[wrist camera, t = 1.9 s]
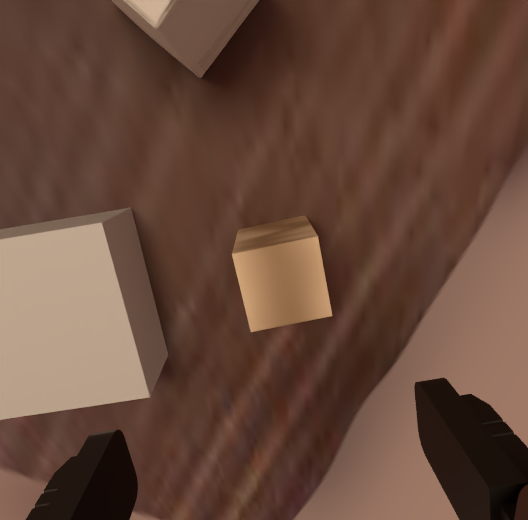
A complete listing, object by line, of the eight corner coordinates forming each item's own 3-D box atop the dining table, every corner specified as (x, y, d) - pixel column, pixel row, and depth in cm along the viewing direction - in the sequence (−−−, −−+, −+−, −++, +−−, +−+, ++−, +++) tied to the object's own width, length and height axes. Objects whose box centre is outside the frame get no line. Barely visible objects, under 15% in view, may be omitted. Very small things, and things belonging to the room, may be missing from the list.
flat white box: (131, 207, 30) (101, 222, 25) (169, 353, 34) (150, 397, 28) (-27, 233, 31) (-93, 254, 25) (25, 375, 34) (-23, 422, 28)
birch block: (305, 215, 30) (317, 236, 24) (317, 279, 32) (332, 315, 25) (238, 229, 31) (231, 254, 24) (253, 292, 32) (250, 332, 25)
